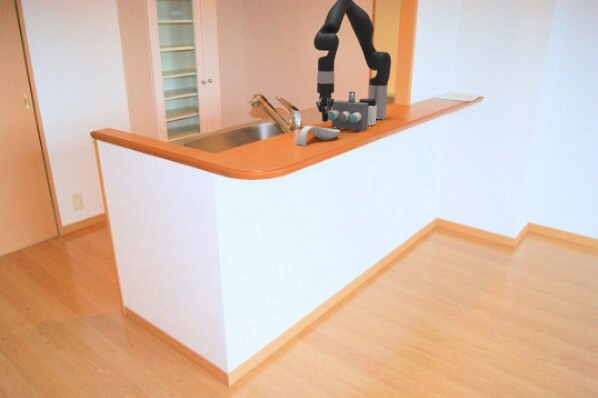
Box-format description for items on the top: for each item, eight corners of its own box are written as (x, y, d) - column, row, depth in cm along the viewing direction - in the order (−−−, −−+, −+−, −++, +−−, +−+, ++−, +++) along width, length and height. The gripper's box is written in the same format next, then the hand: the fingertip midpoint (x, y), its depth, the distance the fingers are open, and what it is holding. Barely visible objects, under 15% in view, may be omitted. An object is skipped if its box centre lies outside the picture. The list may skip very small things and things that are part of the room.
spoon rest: (322, 134, 213) (322, 118, 211) (345, 138, 207) (345, 121, 204) (289, 144, 196) (289, 126, 193) (312, 148, 189) (313, 130, 187)
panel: (337, 125, 231) (338, 100, 227) (367, 128, 224) (368, 103, 220) (331, 127, 227) (332, 102, 223) (361, 131, 219) (363, 104, 215)
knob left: (337, 116, 229) (337, 108, 228) (345, 117, 227) (345, 108, 226) (326, 120, 221) (326, 111, 219) (334, 120, 219) (334, 112, 217)
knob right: (358, 118, 224) (359, 110, 222) (366, 119, 222) (366, 110, 221) (348, 122, 215) (348, 113, 214) (356, 123, 213) (357, 114, 212)
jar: (357, 126, 231) (358, 100, 227) (357, 122, 238) (358, 98, 234) (376, 126, 230) (377, 101, 226) (375, 123, 238) (376, 98, 234)
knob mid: (347, 117, 226) (348, 109, 225) (355, 118, 225) (356, 109, 223) (337, 121, 218) (337, 112, 216) (345, 122, 216) (345, 113, 215)
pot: (350, 101, 224) (350, 91, 223) (356, 101, 223) (356, 91, 221) (347, 102, 222) (347, 92, 220) (353, 102, 220) (353, 92, 219)
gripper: (325, 80, 216) (324, 118, 222) (310, 82, 206) (310, 122, 212) (340, 80, 213) (339, 120, 219) (326, 83, 202) (325, 124, 208)
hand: (324, 121), depth 215 cm, fingers closed
